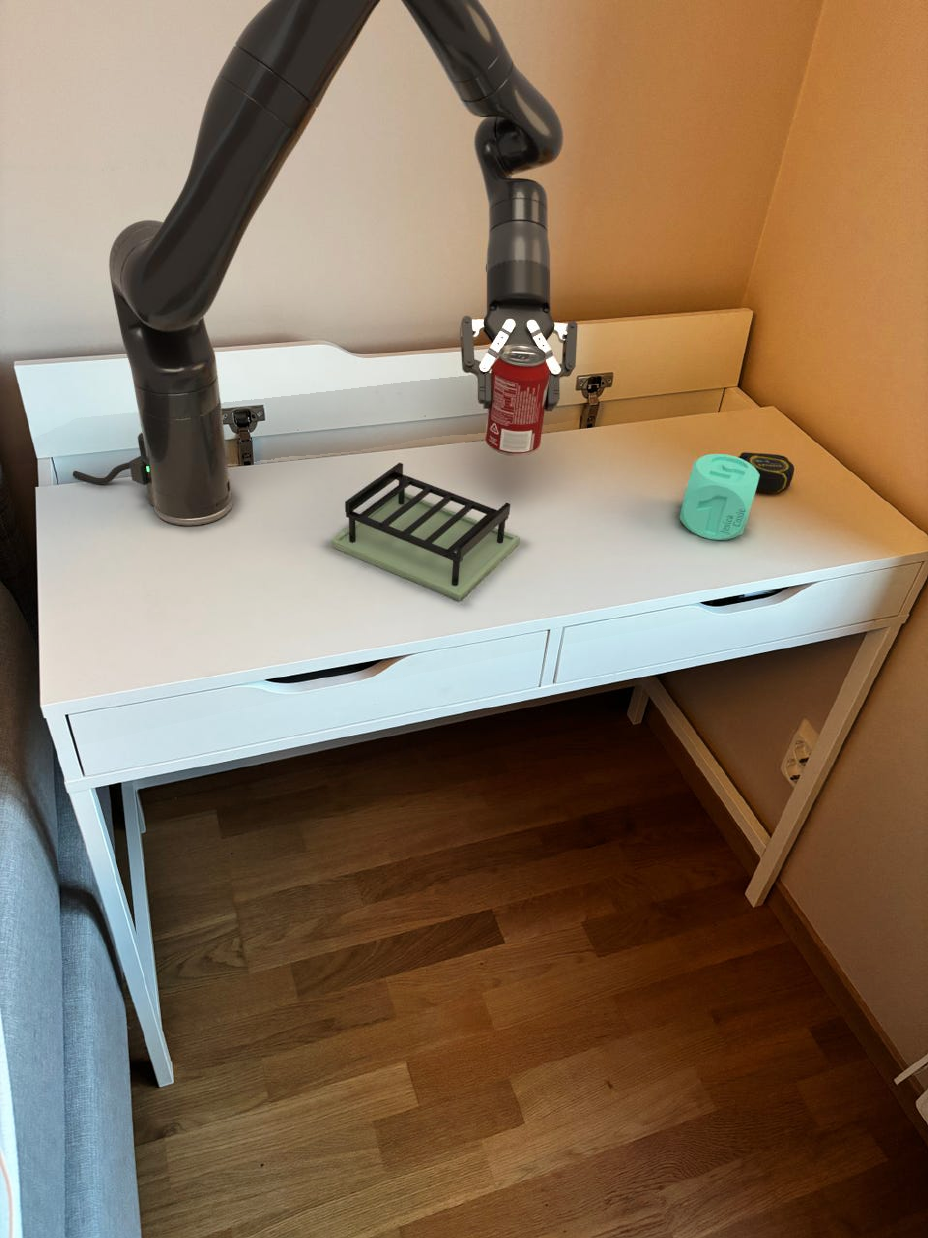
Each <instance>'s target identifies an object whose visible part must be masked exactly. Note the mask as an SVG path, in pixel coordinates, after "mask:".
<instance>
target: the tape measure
mask: <svg viewBox="0 0 928 1238" xmlns="http://www.w3.org/2000/svg"><path fill="white" fill-rule="evenodd" d="M737 457H738V458H741V459H743V460H745V461H747V462H749V463H750V464H751V465H753V466H754V467H755V469H756V470H757V471H758V473H759V475H760V476H759V480H758V484H757V488H756V491H759V492H763V493H768V494H769V493H771V494H773V493H782V492H784V491H786V490H788V488H790V485H791V483H792V480H793V477H794V473H795V465H794V464H793V463H792V462H791V461H790V460H789V458H788V457H786V456H785V455H781V454H775V453H774V454H773V453H761V452H759V453H758V452H749V451H747V452H745V451H744V452H741V453H740V455H738V456H737Z"/></svg>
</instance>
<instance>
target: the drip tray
mask: <svg viewBox="0 0 928 1238" xmlns="http://www.w3.org/2000/svg"><path fill="white" fill-rule="evenodd" d="M413 497H415V496H414V495H412V494H409V493H407V492H405V503H404V504H406V503H407V502H408V501H409V500H411V499H412V498H413ZM404 504H403V505H404ZM403 505H400V504H399V503H398V494H397V495H396V496H395V497H393V498H392V499H391V500H389V501H388V502H387V503H385V504H384V505H383V506H381V507H380V508H379V509H378V510H376V511H375V512H374V513H372V514H371V515H370V516H368V518H371V519H373V520H376V521H378V522H382V521H384V520H385V519H386V518H388V517H389V516H390V515H391V514H393V513H394V512H395V511H397V510H398V509H399V508H400V507H402V506H403ZM435 505H436V504H435V503H432V502H429V501H428V500H425V499H422V500H420V501H419V502H418V503H417V504H415V505H414V506H413V507H412V508H410V509H409V510H408V511H407V512H405V513H404V514H403V515H402V516H400V517H399V518H398V519H396V520H395V521H394V522H393V523H391V524H390V525H389V526H391V527H393V528H395V529H398V530H400V531H404V530H405V529H406V528H407V527H409V526H410V525H411V524H412V523H414V522H415V521H416V520H417V519H418V518H420V517H421V516H422V515H423V514H425V513H426V512H427V511H428V510H430V509H431V508H432V507H433V506H435ZM456 513H457V512H455V511H453V510H451V509H448V508H445V507H443V508H442V509H440V510H439V511H438V512H437V513H436V514H434V515H433V516H432V517H431V518H429V519H428V520H427V521H426V522H425V523H423V524H422V525H421V526H420V527H419V528H417V529H416V530H415V531H414V532H412V533H411V534H410V535H413V536H415V537H418V538H420V539H423V540H426V539H427V538H428V537H429V536H430V535H432V534H433V533H434V532H435V531H436V530H437V529H439V528H440V527H441V526H442V525H443V524H444V523H446V522H447V521H448V520H449V519H450V518H452V517H453V516H454V515H455V514H456ZM479 521H480V520H476V519H473V518H471V517H468V516H466V515H465V516H463V517H462V518H461V519H460V520H459V521H458V522H456V523H455V524H454V525H453V526H452V527H451V528H449V529H448V530H447V531H446V532H445V533H444V534H442V535H441V536H440V537H439V538H438V539H437V540H435V541H434V542H433V543H432V544H435V545H437V546H440V547H442V548H445V549H448V548H449V547H450V546H452V545H453V544H454V543H455V542H456V541H457V540H458V539H459V538H461V537H462V536H463V535H464V534H465V533H466V532H467V531H468V530H470V529H471V528H472V527H473V526H474V525H475V524H476V523H478V522H479ZM497 533H498V527H495V528H494V529H493V530H492V531H491V532H490V533H489V534H488V535H486V536H485V537H484V538H483V539H482V540H481V541H480V542H479V543H478V544H477V545H476V546H474V547H473V548H472V549H471V550H470V551H469V552H468V553H467V554H466V555H465V556H464V557H463V560H462V561H461V562H460V570H459V584H458V586H453V585H452V584H451V583H452V568H453V561H452V560H450V559H448V558H445V557H443V556H440V555H438V554H435V553H433V552H431V551H428V550H426V549H423V548H421V547H418V546H416V545H413V544H411V543H409V542H406V541H404V540H401V539H399V538H396V537H394V536H392V535H389V534H387V533H384V532H382V531H379V530H377V529H374V528H372V527H370V526H367V525H365V524H362V523H360V522H357V521H356V541H355V542H354V543H351V542H349V526H348V527H347V528H346V529H344V530H343V531H342V532H340V533H339V534H337V535H336V536H335V537H334V538H332V539H331V540H330V542H331V545H330V546H331V548H333V549H335V550H338V551H340V552H342V553H345V554H347V555H349V556H352V557H354V558H356V559H359V560H360V561H361V560H362V561H363V562H366V563H368V564H370V565H373V566H375V567H377V568H380V569H382V570H385V571H387V572H389V573H391V574H394V575H396V576H398V577H401V578H403V579H405V580H408V581H410V582H412V583H415V584H417V585H419V586H422V587H424V588H427V589H428V590H431V591H433V592H435V593H438V594H440V595H443V596H444V597H447V598H449V599H452V600H455V601H457V602H459V603H461V601H462V600H463V599H465V597H467V596H468V595H469V594H470V593H471V592H472V591H473V590H474V589H475V588H476V587H477V586H478V585H479V584H480V583H481V582H482V581H483V580H485V578H486V577H487V576H489V574H490V573H491V572H492V571H493V570H495V568H497V566H498V565H499V564H501V562H502V561H504V560H505V559H506V558H507V557H508V556H509V555H510V554H511V553H512V552H513V551H514V550H515V549H516V548H517V547H518V546H519V544H520V542H521V541H520V540H521V537H520V536H517V535H514V534H512V533H510V532H507V531H505V530H504V539H503V543H497ZM455 553H456V552H455Z"/></svg>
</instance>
